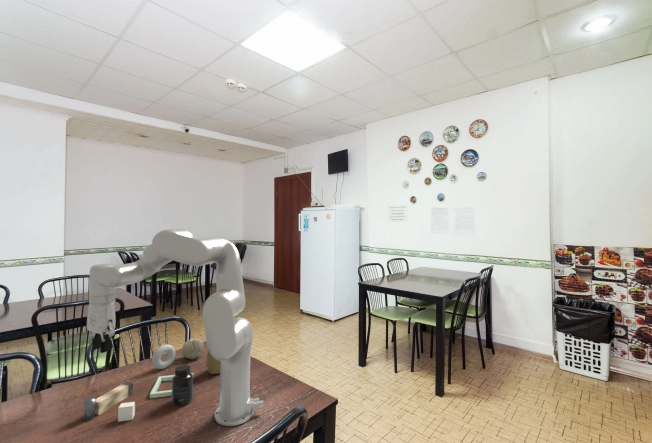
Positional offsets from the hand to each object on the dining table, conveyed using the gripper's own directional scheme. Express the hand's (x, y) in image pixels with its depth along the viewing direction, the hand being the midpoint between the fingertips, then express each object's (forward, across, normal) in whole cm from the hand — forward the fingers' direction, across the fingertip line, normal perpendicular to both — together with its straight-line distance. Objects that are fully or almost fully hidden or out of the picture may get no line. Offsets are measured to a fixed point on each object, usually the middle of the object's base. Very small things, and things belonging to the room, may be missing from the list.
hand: (101, 349), depth 111 cm
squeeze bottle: (+18, +20, +34) cm, 44 cm away
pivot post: (+17, +9, -8) cm, 21 cm away
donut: (+18, -1, +25) cm, 31 cm away
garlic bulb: (+18, +1, +38) cm, 42 cm away
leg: (+17, +7, 0) cm, 19 cm away
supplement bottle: (+18, +27, +13) cm, 34 cm away
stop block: (+17, +20, -2) cm, 26 cm away
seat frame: (+17, +16, +17) cm, 29 cm away
